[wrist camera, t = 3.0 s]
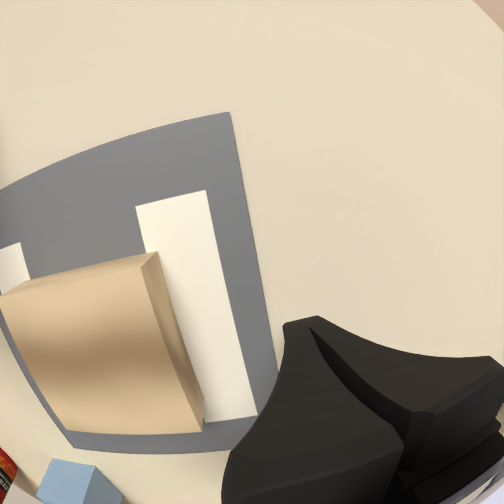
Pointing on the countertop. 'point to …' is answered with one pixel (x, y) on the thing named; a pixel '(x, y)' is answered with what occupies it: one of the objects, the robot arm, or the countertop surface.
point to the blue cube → (76, 485)
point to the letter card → (171, 258)
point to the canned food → (6, 474)
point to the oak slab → (107, 348)
